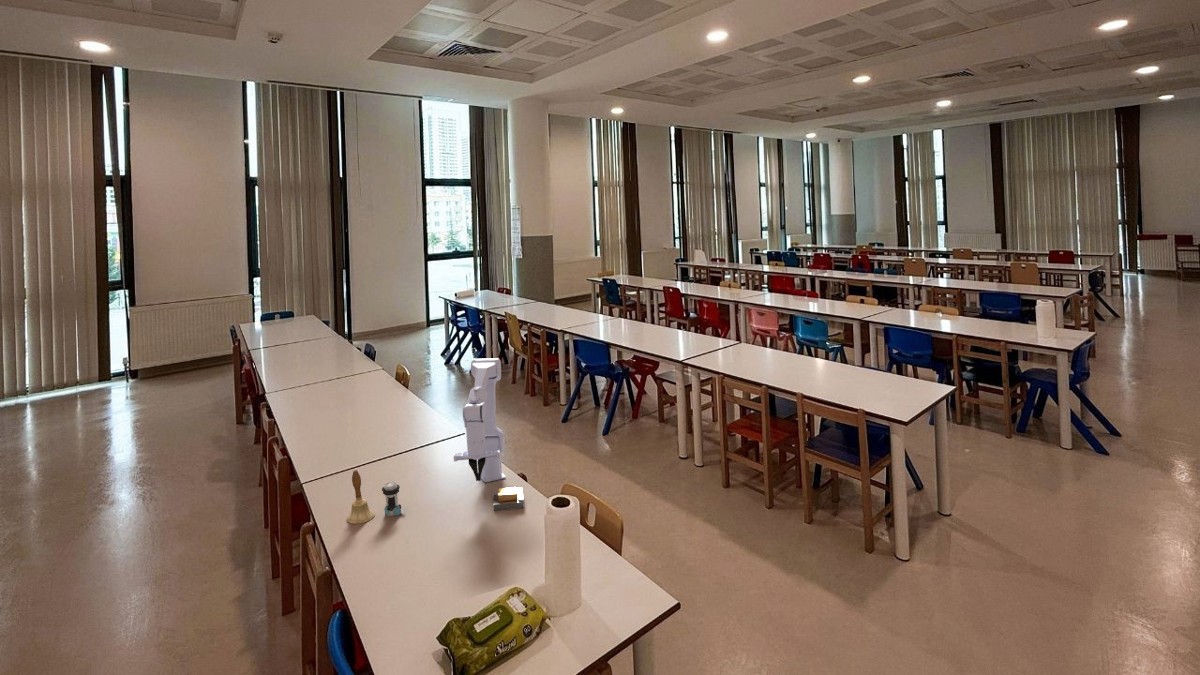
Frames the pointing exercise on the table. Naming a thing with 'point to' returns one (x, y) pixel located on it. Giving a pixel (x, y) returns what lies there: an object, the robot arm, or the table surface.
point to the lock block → (507, 494)
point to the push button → (392, 499)
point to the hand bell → (359, 504)
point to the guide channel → (509, 504)
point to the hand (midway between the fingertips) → (478, 479)
